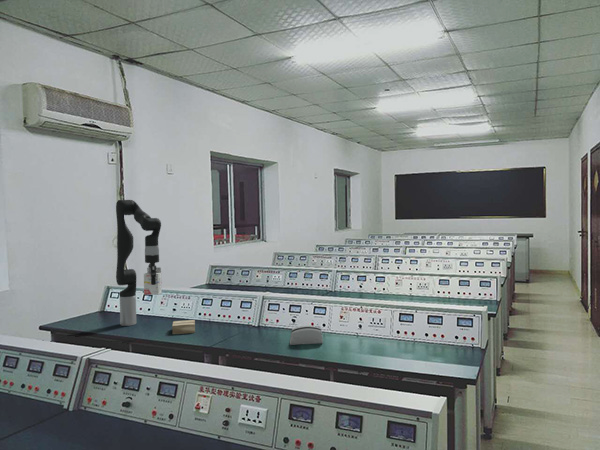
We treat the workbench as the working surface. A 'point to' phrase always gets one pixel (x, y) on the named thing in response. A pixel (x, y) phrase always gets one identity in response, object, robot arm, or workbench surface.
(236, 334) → the workbench surface
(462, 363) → the workbench surface
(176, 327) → the birch block
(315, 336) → the grey arched block
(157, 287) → the ink cartridge box
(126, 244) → the robot arm
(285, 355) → the workbench surface
